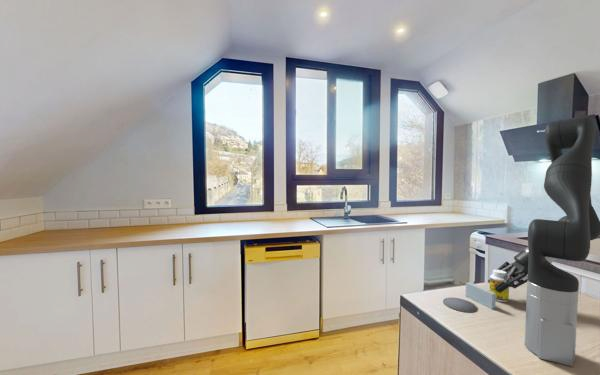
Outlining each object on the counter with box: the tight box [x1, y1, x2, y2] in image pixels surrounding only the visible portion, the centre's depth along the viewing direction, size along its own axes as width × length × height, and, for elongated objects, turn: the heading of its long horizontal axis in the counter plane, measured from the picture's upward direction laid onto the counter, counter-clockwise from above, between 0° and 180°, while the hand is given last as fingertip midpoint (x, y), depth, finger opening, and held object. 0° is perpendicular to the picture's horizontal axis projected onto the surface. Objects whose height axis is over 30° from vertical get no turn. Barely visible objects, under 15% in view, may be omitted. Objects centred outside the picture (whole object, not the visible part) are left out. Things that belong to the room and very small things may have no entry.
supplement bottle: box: [489, 269, 510, 303], centre depth 95 cm, size 6×6×10 cm
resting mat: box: [442, 297, 478, 313], centre depth 91 cm, size 10×10×1 cm
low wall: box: [465, 282, 496, 310], centre depth 93 cm, size 10×2×5 cm, turn 15°
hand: (493, 286), depth 96 cm, fingers closed on supplement bottle, 5 cm apart
